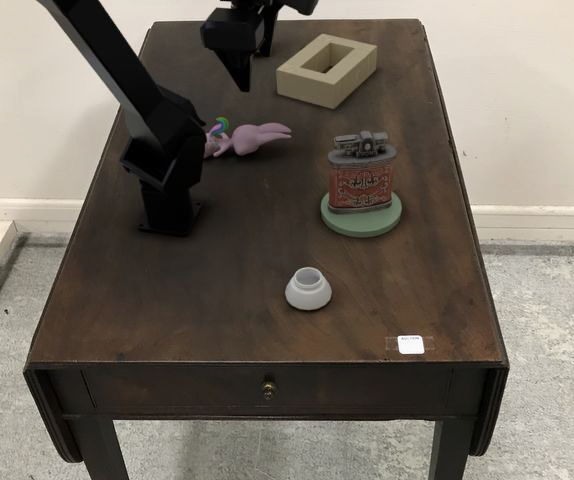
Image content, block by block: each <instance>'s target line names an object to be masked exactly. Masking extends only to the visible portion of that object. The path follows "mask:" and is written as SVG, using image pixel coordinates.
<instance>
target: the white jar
mask: <svg viewBox="0 0 574 480" xmlns="http://www.w3.org/2000/svg"><path fill="white" fill-rule="evenodd" d="M332 293H333V291H332V287H331V285H330V283H329V282H328V280H327V278H326V277H325V276H324V275H323V274H322V272H321V271H320V269H317V268H314V267H308V266H307V267H303V268H299V269H297V270H296V272H295V273H294V275H293V276H292V277H291V279H290V280H289V282H288V284H287V285H286V288H285V291H284V295H285V298H286V301H287V302H288V303H289V304H290V305H291V306H292V307H295V308H297V309H299V310H305V311H306V310H307V311H311V310H317V309H320V308H322V307H324V306H326V305H327V304H328V302H330V300H331V297H332Z"/></svg>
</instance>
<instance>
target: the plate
mask: <svg viewBox="0 0 574 480" xmlns="http://www.w3.org/2000/svg"><path fill="white" fill-rule="evenodd" d="M391 195H392V205H391V207H390V208H388V209H385V210H380V211H376V212H371V213H365V214H354V215H335V214H332V213H330V212H329V211H328V200H329V191H328V192H327V193H326V194H325V195H324V196H323V198H322V199H321V202H320V216H321V219H322V221H323V222H324V224H325V225H326V226H327V227H328V228H329V229H331V230H332V231H333V232H335V233H338V234H340V235H343V236H347V237H351V238H371V237H372V238H373V237H378V236H381V235H384V234H386V233H388V232H390V231H391V230H393V229H394V228H395V227H396V226H397V225H398V224H399V222H400V220H401V218H402V209H403V206H402V205H403V204H402V202H401V199H400V197H398V195H397V194H396V193H395V192H394V191H392V193H391Z"/></svg>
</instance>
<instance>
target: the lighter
mask: <svg viewBox="0 0 574 480" xmlns="http://www.w3.org/2000/svg"><path fill="white" fill-rule="evenodd" d="M388 137H389V136H388V133H386V132H384V131H383V132H374V133H371V132H370V130H367V129H366V130H361V131H360V132H359V134H348V135H339V136H338V135H337V136H335V137H334V138H333V150H331V151H330V152H329V153H328V154H327V164H328V192H329V200H328V211H329V212H330V213H332V214H335V215H354V214H365V213H371V212H376V211H380V210H385V209H388V208H390V207H391V205H392V195H391V193H392V192H393V178H394V167H395V160H396V158H397V148H395V146H392V145H391V144H388Z"/></svg>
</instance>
